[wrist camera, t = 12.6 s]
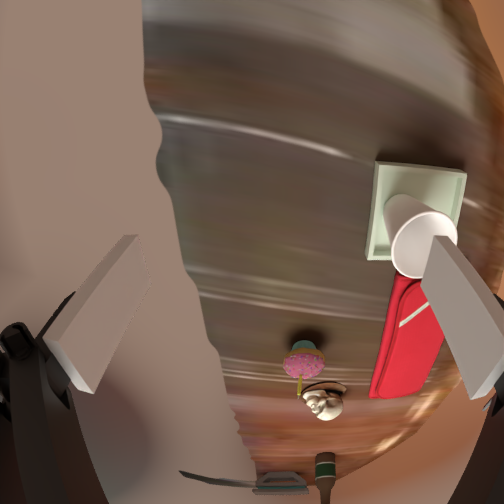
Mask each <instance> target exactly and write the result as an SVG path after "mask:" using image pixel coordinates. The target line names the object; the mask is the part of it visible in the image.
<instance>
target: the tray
mask: <svg viewBox="0 0 504 504" xmlns="http://www.w3.org/2000/svg"><path fill="white" fill-rule="evenodd" d="M466 178H467V173H465V172H463V171H462V170H460V169H452V168H445V167H436V166H428V165H418V164H408V163H397V162H384V161H375V167H374V179H373V190H372V200H371V209H370V217H369V225H368V233H367V240H366V247H365V255H366V258H367V260H392V257H391V247H390V243H389V239H388V235H387V231H386V227H385V224H384V220H383V209H384V206H385V204H386V202H387V201H388V200H389V199H390V198H391V197H393V196H395V195H398V194H407V195H409V196H411V197H413V198H415V199H417V200H419V201H420V202H422V203H424V204H426V205H427V206H429V207H431V208H433V209H435V210H436V211H440V212H443V213H445V214H446V215H448V216H449V217H450V218H451V219H452V220H453V222H454V224H455V226H456V227H457V223H458V218H459V214H460V209H461V205H462V200H463V195H464V189H465V184H466Z"/></svg>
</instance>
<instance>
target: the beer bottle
mask: <svg viewBox="0 0 504 504" xmlns="http://www.w3.org/2000/svg"><path fill="white" fill-rule="evenodd" d="M335 479H336V473H335V454H334V453H331V452H323V453H320V454H317V456H316V460H315V482H316V486H317V488H318V489H319V490H320V495H321V504H330V493H331V489H332V487H333V486H334V484H335Z"/></svg>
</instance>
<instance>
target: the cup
mask: <svg viewBox="0 0 504 504" xmlns="http://www.w3.org/2000/svg"><path fill="white" fill-rule="evenodd" d="M383 220H384V224H385V227H386V231H387V235H388V239H389V243H390V247H391V257H392V262H393V264H394V266H395V268H396V269H397V270H398V271H399V272H400V273H401V274H402V275H405V276H407V277H410V278H423V274H424V271H425V267H426V264H427V260H428V257H429V253H430V249H431V245H432V241H433V237H434V235H444V236H448V237H449V238H450V239H451V240H452V242H453V243H454V244H455V245H457V239H458V238H457V230H456V226H455V224H454V222H453V220H452V219H451V218H450V217H449V216H448V215H446V214H445V213H443V212H440V211H436V210H435V209H433V208H431V207H429V206H427V205H426V204H424V203H422V202H420V201H419V200H417V199H415V198H413V197H411V196H409V195H407V194H398V195H395V196H393V197H391V198H390V199H389V200H388V201H387V202H386V204H385V206H384V209H383Z"/></svg>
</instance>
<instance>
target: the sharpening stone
mask: <svg viewBox="0 0 504 504" xmlns="http://www.w3.org/2000/svg"><path fill="white" fill-rule="evenodd" d="M294 480H295V481H296V482H290V483H269V482H270V481H294ZM255 486H256V487H257V488H258V489H253V490H252V491H253V493H255V494H256V495H301V494H309V490H308V488H307V484H306V481H305V480H304V479H303V478H301V477H300V476H299V475H297V474H296V473H295V472H268V473H267V474H265V475H264V476H263V477H261V478H260V479H259V480H257V481H256V484H255Z"/></svg>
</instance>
